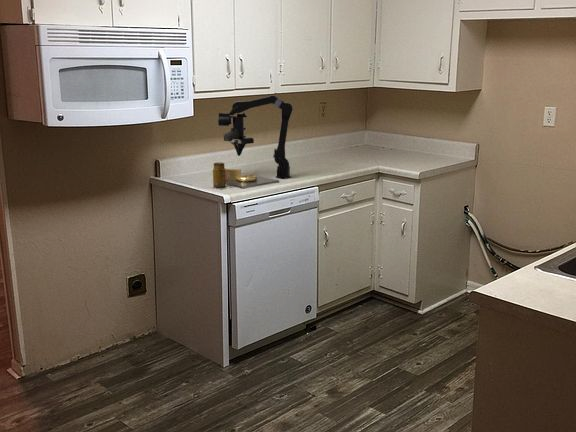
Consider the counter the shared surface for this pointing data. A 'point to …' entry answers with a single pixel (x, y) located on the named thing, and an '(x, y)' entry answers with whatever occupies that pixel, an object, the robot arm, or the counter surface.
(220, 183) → the condiment
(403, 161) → the counter surface
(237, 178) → the brass lever handle
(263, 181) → the base plate
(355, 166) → the counter surface
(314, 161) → the counter surface
